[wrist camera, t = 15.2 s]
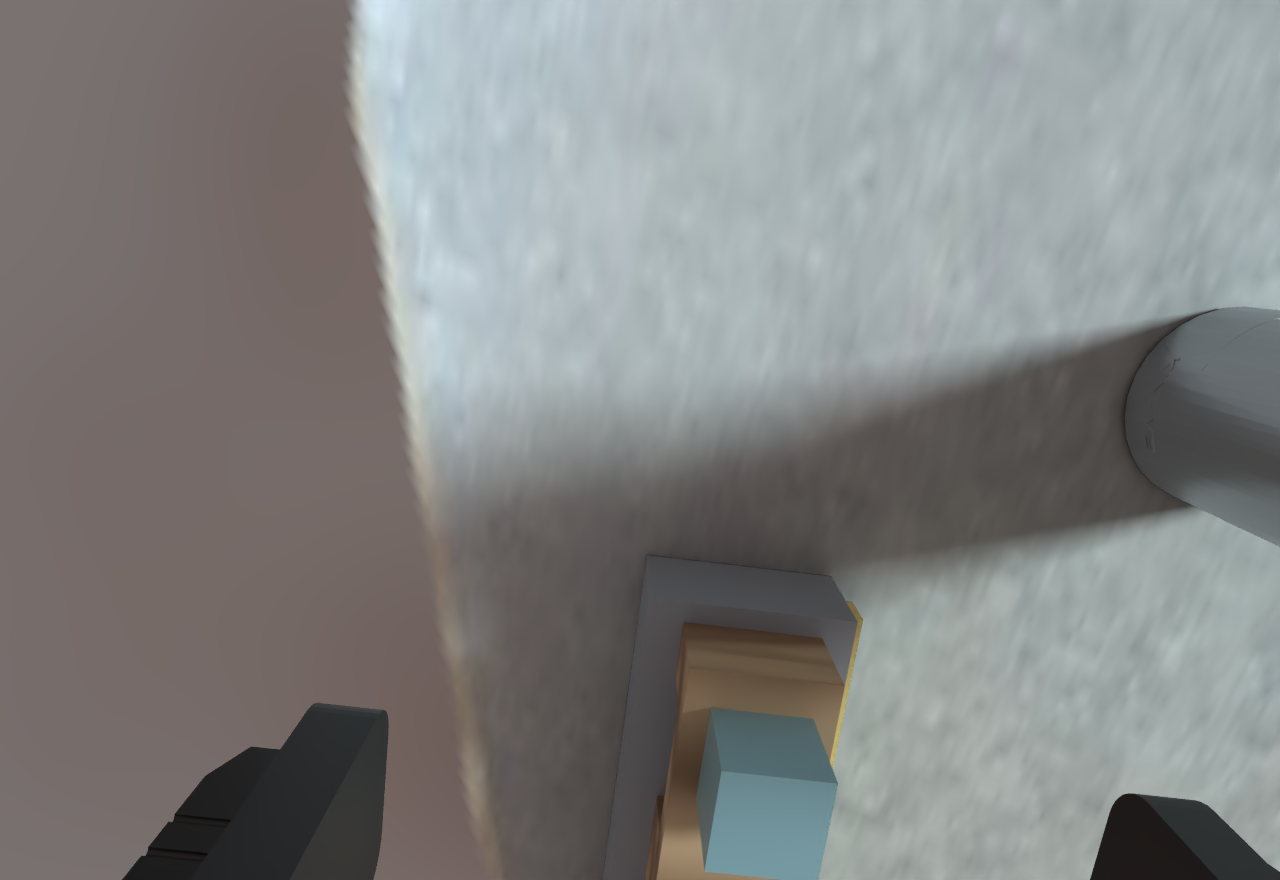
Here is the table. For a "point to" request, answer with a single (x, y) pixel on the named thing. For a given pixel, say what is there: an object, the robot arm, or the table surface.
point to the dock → (652, 692)
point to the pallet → (738, 680)
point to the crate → (764, 796)
